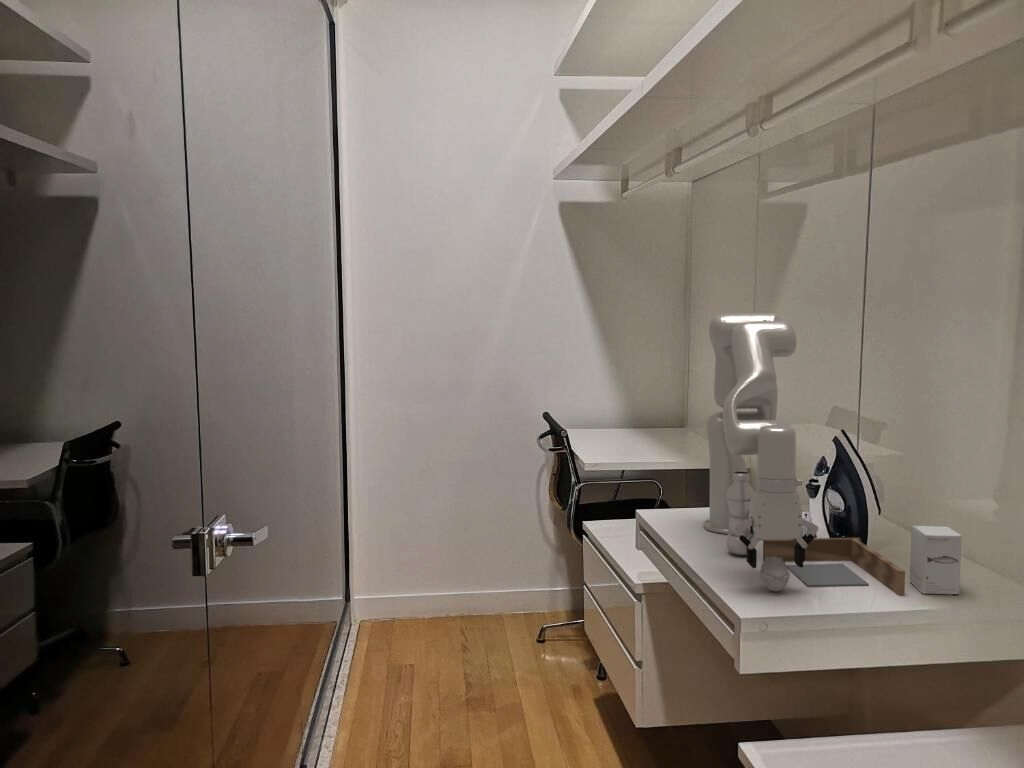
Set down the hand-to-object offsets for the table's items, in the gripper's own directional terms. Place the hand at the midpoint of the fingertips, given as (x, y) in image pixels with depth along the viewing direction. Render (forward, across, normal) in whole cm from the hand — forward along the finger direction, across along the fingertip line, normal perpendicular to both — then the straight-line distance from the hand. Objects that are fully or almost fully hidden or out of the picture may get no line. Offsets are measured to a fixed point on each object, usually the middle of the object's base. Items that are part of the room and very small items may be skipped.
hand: (775, 565), depth 161 cm
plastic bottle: (+5, 0, -25) cm, 25 cm away
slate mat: (+5, -14, -9) cm, 17 cm away
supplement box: (+6, -33, 0) cm, 33 cm away
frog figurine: (+6, 0, -1) cm, 6 cm away
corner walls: (+5, -15, -8) cm, 18 cm away
